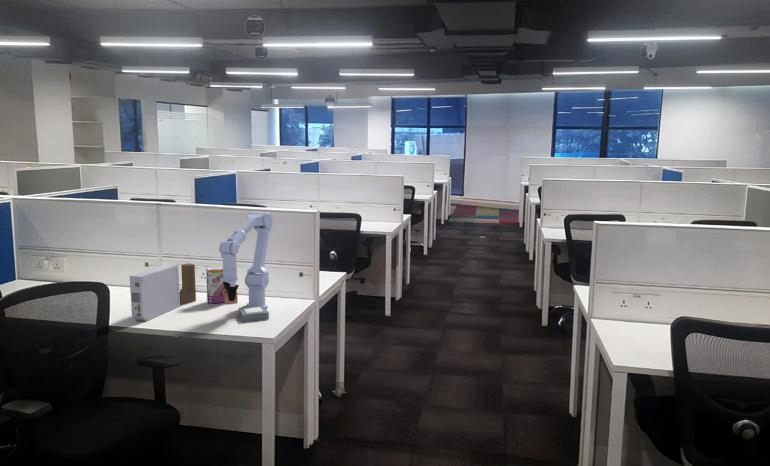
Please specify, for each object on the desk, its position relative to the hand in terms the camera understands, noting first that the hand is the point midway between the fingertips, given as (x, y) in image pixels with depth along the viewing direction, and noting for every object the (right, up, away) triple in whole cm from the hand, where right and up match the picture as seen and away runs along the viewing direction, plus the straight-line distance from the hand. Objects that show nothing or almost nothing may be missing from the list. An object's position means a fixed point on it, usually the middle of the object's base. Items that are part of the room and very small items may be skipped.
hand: (230, 299), depth 262 cm
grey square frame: (+9, -8, +3) cm, 13 cm away
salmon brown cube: (0, -2, 0) cm, 2 cm away
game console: (-34, -7, +7) cm, 36 cm away
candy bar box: (-12, -4, +27) cm, 30 cm away
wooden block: (-28, -5, +26) cm, 38 cm away
